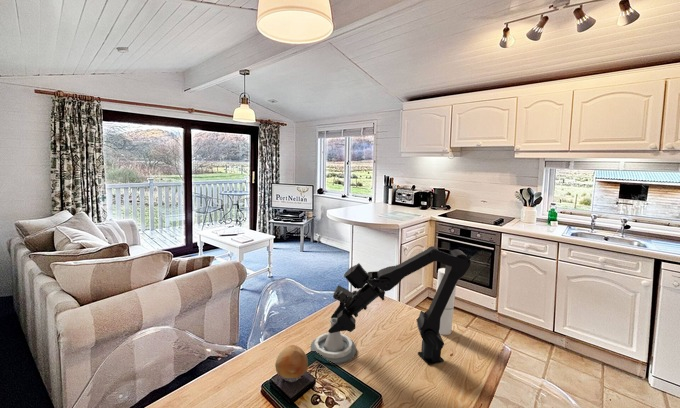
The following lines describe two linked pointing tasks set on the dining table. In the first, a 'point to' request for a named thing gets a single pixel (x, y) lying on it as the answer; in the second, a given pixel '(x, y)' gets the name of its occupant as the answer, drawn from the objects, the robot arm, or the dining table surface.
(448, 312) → the cylindrical container
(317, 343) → the grey round shallow dish
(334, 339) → the flask
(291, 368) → the onion
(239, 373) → the dining table surface
